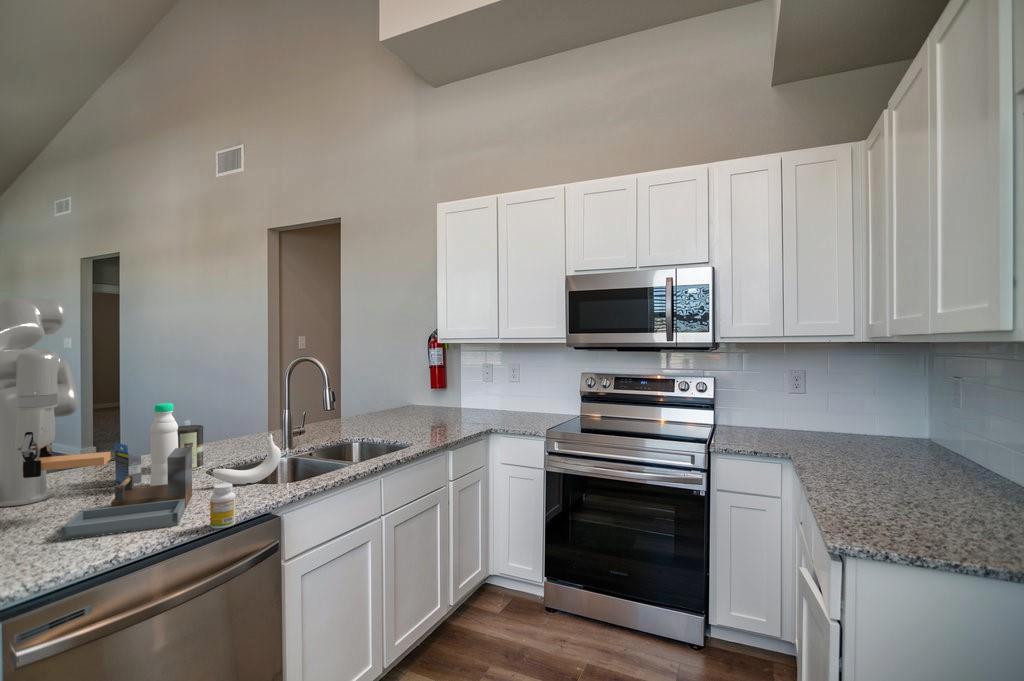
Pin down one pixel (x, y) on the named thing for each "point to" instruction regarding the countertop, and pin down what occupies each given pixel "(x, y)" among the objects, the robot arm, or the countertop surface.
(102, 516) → the tray
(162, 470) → the water bottle
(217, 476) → the banana
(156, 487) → the dispenser
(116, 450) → the label tape cartridge
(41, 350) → the robot arm
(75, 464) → the orange rectangular block
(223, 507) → the supplement bottle
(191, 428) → the coffee can
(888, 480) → the countertop surface
